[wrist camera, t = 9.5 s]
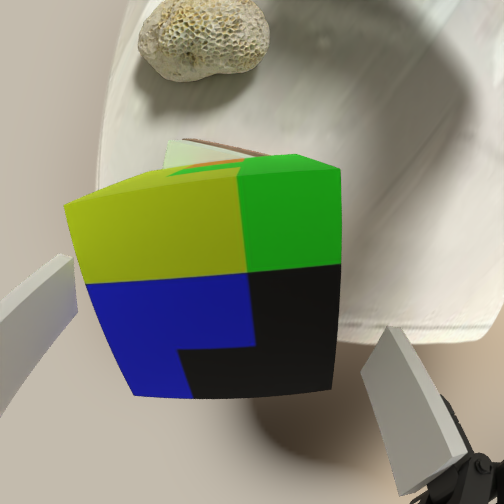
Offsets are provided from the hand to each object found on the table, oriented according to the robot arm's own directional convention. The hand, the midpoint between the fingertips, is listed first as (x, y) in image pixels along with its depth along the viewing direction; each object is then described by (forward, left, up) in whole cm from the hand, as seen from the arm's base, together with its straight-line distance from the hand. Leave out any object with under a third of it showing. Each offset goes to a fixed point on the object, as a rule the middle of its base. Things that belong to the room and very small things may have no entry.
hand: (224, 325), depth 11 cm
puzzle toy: (0, -1, -10) cm, 10 cm away
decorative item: (-16, -7, -20) cm, 27 cm away
